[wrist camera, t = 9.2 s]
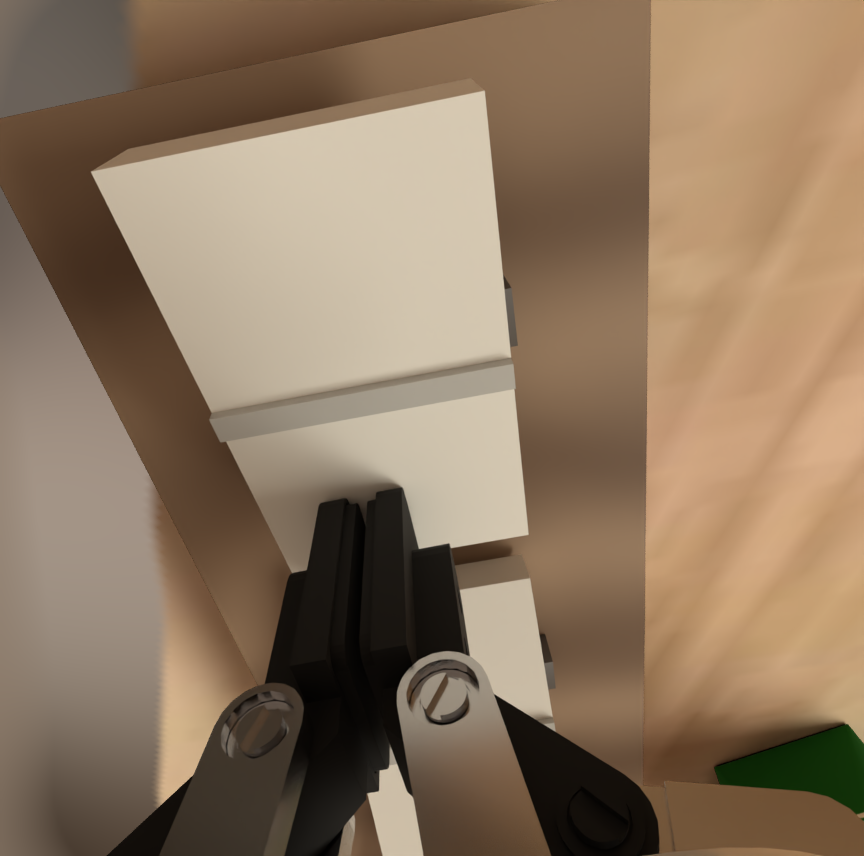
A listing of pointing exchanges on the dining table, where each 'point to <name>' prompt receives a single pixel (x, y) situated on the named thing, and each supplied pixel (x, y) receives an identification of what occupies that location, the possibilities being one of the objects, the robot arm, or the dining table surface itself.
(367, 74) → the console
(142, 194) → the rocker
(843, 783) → the milk carton
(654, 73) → the dining table surface
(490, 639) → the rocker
